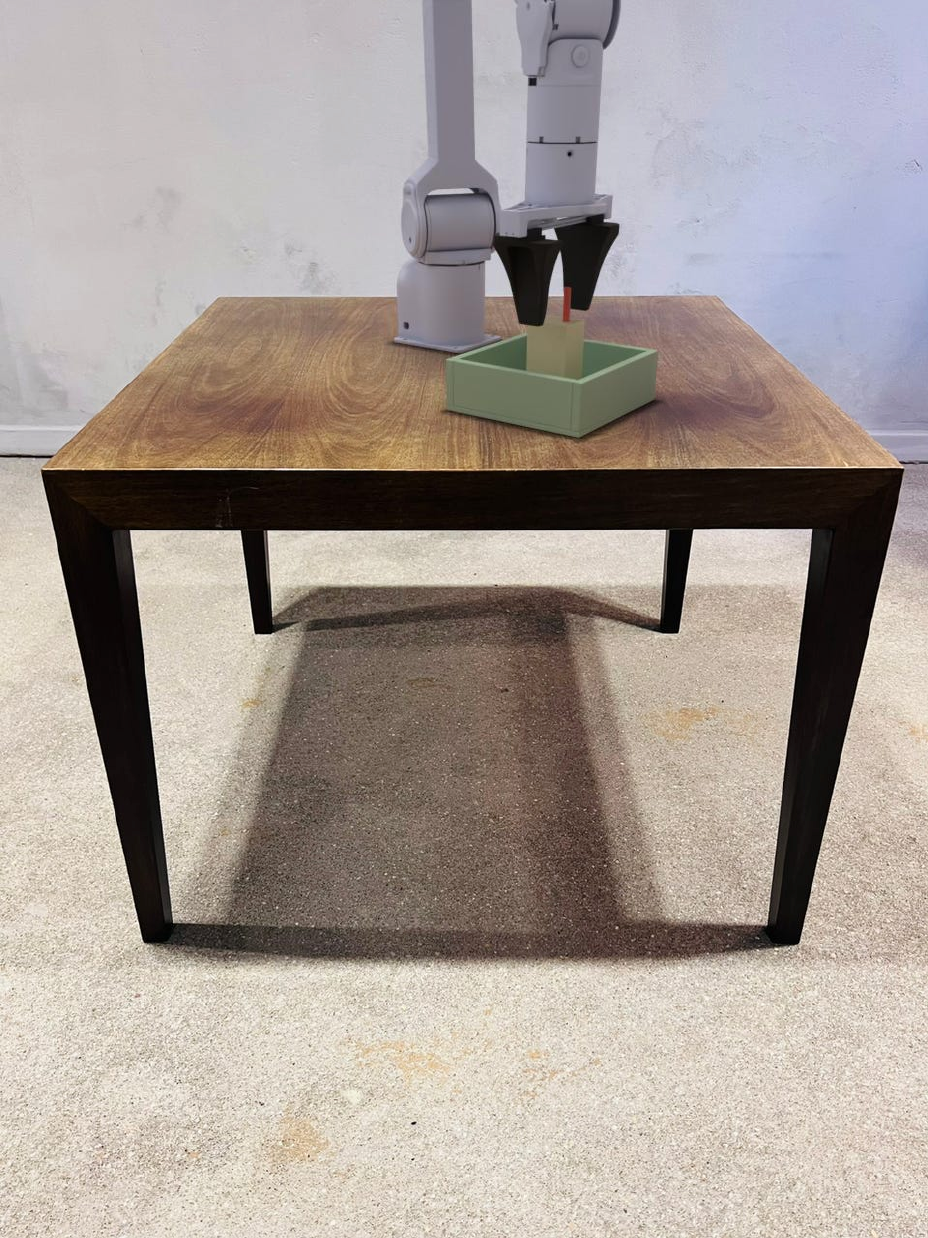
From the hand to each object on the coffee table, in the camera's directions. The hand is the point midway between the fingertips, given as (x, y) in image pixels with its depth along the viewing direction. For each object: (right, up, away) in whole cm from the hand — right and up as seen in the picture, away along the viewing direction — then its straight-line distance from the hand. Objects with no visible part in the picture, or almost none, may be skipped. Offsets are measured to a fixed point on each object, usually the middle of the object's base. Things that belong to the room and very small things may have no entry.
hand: (554, 316), depth 85 cm
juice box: (0, -6, +3) cm, 7 cm away
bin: (0, -7, +4) cm, 8 cm away
